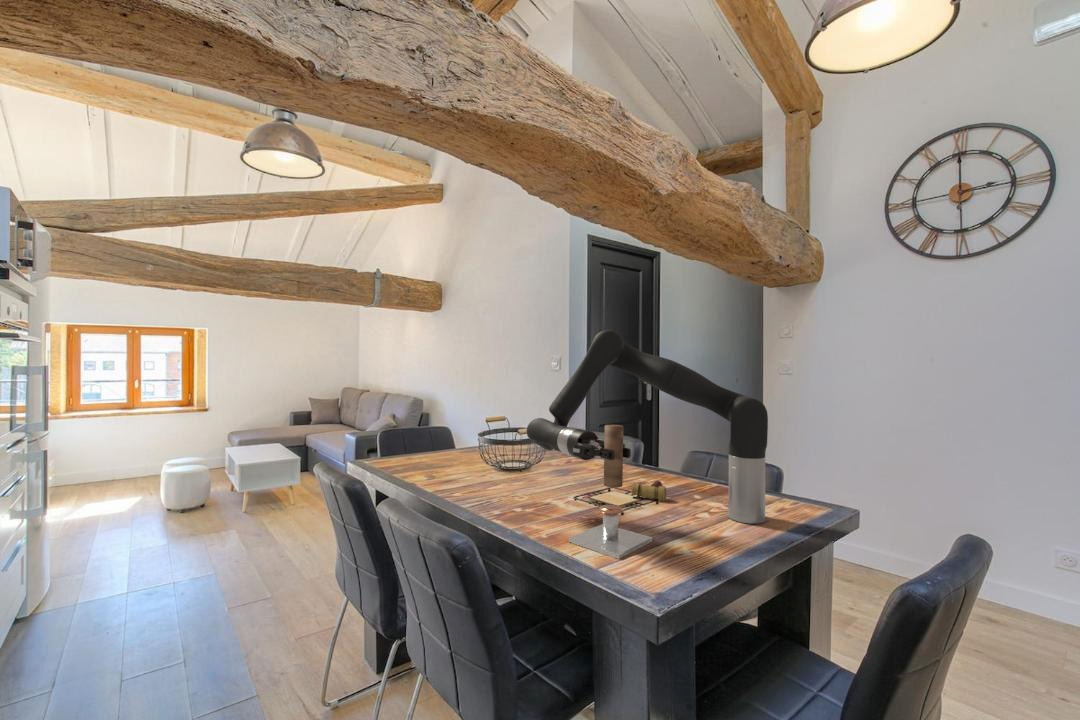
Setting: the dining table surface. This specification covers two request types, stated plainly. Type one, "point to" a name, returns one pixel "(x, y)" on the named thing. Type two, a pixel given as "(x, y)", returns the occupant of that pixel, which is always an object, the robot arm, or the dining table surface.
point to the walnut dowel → (614, 467)
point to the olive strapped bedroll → (650, 491)
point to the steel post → (611, 536)
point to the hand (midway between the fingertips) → (621, 454)
